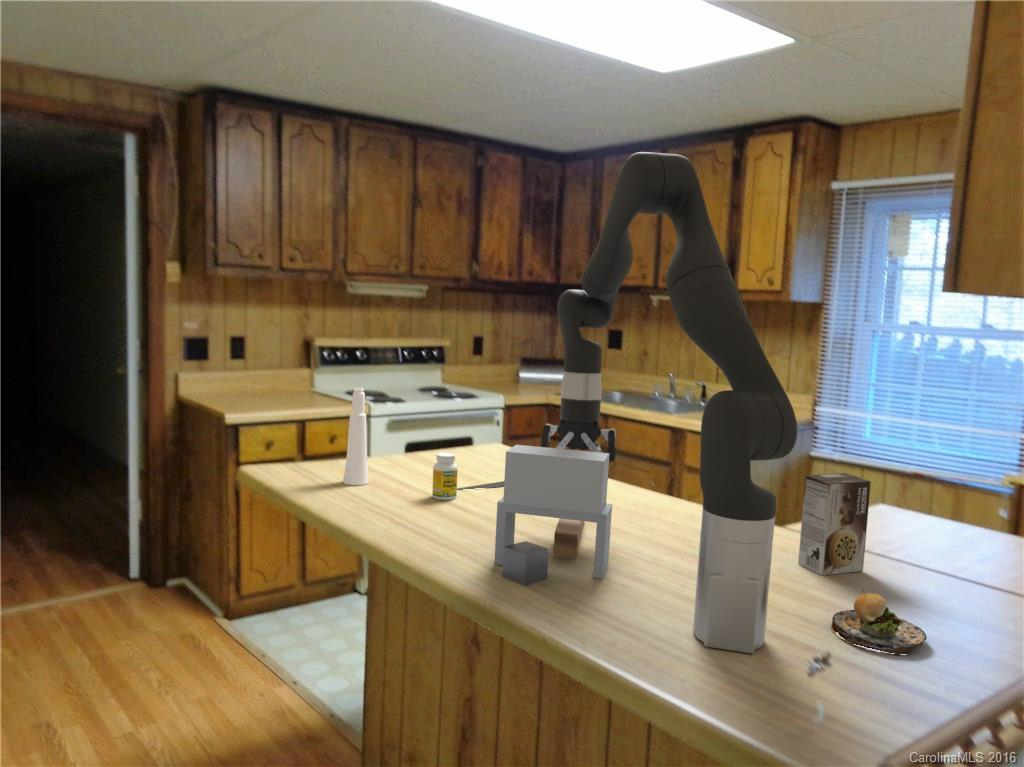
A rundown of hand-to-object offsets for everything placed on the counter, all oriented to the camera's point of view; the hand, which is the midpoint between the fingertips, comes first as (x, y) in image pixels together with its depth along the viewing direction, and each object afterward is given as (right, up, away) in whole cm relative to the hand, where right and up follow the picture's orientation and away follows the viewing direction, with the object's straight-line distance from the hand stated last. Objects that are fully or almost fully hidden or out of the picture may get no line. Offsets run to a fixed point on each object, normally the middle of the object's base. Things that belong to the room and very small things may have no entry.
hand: (576, 480), depth 148 cm
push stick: (-2, -11, -3) cm, 11 cm away
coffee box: (+43, -14, -13) cm, 47 cm away
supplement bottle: (-27, -7, +22) cm, 36 cm away
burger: (+38, -17, -41) cm, 58 cm away
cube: (-10, -12, -25) cm, 30 cm away
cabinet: (-6, -12, -19) cm, 23 cm away
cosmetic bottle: (-49, -5, +32) cm, 58 cm away
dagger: (-15, -6, +37) cm, 40 cm away
